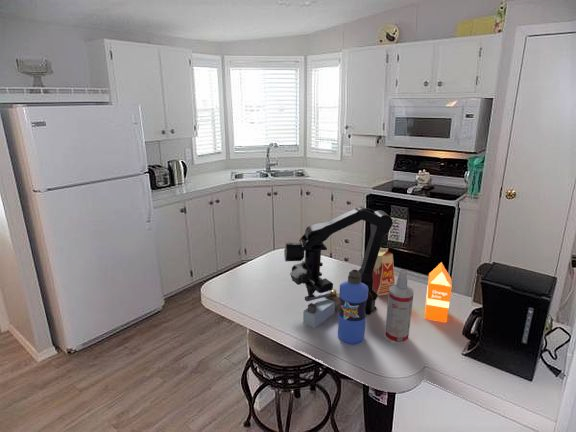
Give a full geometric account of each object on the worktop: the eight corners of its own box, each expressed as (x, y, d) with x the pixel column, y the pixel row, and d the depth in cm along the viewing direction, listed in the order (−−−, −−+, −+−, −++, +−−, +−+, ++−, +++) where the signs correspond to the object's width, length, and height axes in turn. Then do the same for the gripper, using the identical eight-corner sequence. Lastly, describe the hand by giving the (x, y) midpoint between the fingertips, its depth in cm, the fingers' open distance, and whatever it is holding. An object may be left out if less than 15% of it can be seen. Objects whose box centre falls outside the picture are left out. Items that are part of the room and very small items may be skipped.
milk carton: (395, 292, 158) (400, 248, 152) (377, 296, 155) (381, 252, 149) (382, 283, 166) (386, 241, 160) (365, 286, 163) (368, 244, 157)
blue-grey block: (334, 313, 143) (335, 295, 141) (314, 328, 134) (314, 309, 131) (323, 308, 146) (324, 291, 144) (303, 323, 137) (303, 304, 134)
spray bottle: (402, 329, 133) (409, 265, 125) (412, 342, 126) (420, 275, 118) (381, 331, 132) (387, 266, 124) (389, 344, 125) (396, 277, 117)
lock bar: (334, 292, 146) (334, 288, 145) (337, 295, 144) (337, 291, 143) (304, 299, 141) (304, 295, 140) (307, 302, 138) (307, 298, 138)
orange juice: (445, 310, 145) (452, 263, 139) (446, 322, 137) (454, 273, 131) (424, 306, 148) (430, 260, 142) (424, 318, 140) (430, 269, 134)
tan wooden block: (340, 308, 146) (341, 294, 144) (335, 312, 143) (335, 298, 141) (330, 304, 149) (330, 290, 147) (324, 308, 146) (324, 294, 145)
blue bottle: (360, 348, 123) (365, 279, 116) (333, 340, 127) (336, 273, 119) (367, 332, 131) (372, 267, 124) (341, 326, 135) (345, 262, 127)
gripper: (280, 254, 140) (279, 291, 145) (309, 276, 125) (307, 315, 130) (304, 248, 146) (303, 284, 151) (335, 268, 131) (332, 306, 136)
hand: (310, 297), depth 142 cm, fingers closed
